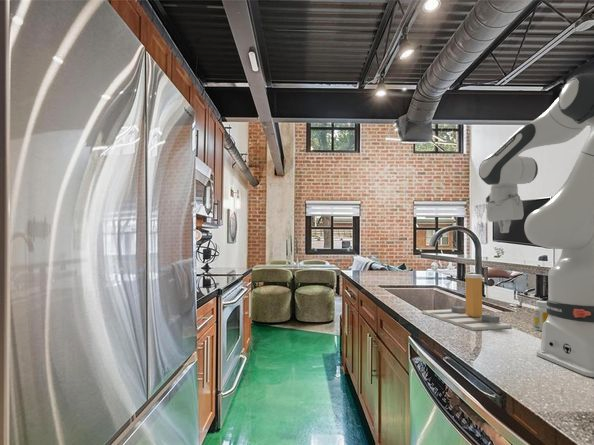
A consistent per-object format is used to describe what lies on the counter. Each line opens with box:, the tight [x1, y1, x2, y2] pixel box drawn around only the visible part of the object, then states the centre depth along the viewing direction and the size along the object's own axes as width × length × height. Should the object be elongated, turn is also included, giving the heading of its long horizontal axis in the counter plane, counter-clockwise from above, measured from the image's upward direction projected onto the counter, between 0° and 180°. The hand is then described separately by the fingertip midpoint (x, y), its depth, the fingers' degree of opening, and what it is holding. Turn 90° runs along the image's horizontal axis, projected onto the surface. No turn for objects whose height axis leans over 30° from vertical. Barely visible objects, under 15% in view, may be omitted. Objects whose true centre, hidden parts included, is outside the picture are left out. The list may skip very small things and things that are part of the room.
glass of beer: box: [464, 273, 483, 317], centre depth 135 cm, size 4×4×16 cm
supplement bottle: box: [533, 300, 548, 332], centre depth 120 cm, size 5×5×10 cm
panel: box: [421, 305, 512, 331], centre depth 134 cm, size 28×16×3 cm, turn 15°
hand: (504, 232), depth 133 cm, fingers closed
